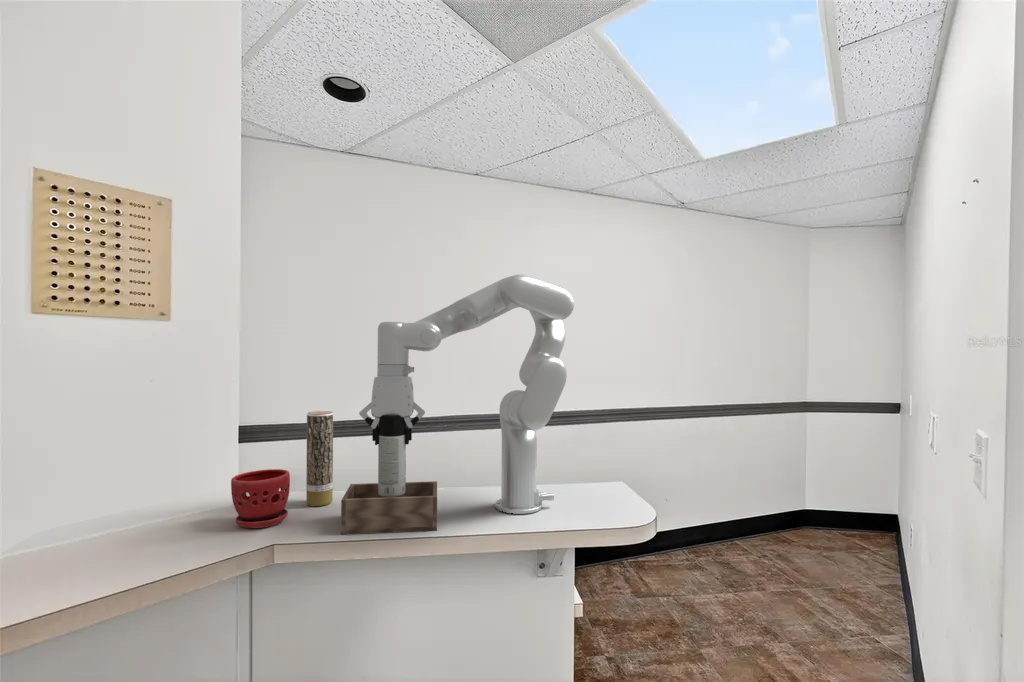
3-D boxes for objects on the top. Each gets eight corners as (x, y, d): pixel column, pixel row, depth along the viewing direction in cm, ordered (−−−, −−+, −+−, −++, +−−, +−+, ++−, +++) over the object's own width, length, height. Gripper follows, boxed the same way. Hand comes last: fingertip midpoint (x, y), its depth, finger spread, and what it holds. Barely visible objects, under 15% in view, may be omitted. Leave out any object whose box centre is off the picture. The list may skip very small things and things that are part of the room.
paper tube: (336, 500, 150) (337, 411, 150) (325, 507, 143) (326, 414, 143) (313, 499, 151) (314, 410, 151) (301, 506, 144) (302, 414, 144)
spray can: (411, 494, 132) (411, 413, 132) (388, 500, 127) (389, 416, 127) (394, 489, 137) (395, 411, 137) (372, 494, 132) (373, 413, 132)
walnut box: (436, 511, 141) (437, 481, 141) (436, 530, 127) (437, 496, 127) (350, 514, 137) (350, 483, 137) (341, 534, 124) (341, 500, 124)
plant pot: (293, 512, 139) (293, 466, 139) (284, 529, 127) (284, 479, 127) (238, 515, 136) (239, 469, 136) (224, 534, 124) (224, 482, 124)
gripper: (428, 370, 137) (427, 440, 137) (358, 370, 134) (358, 441, 134) (428, 372, 129) (427, 446, 129) (354, 372, 127) (353, 447, 127)
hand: (392, 443), depth 132 cm, fingers closed on spray can, 6 cm apart
